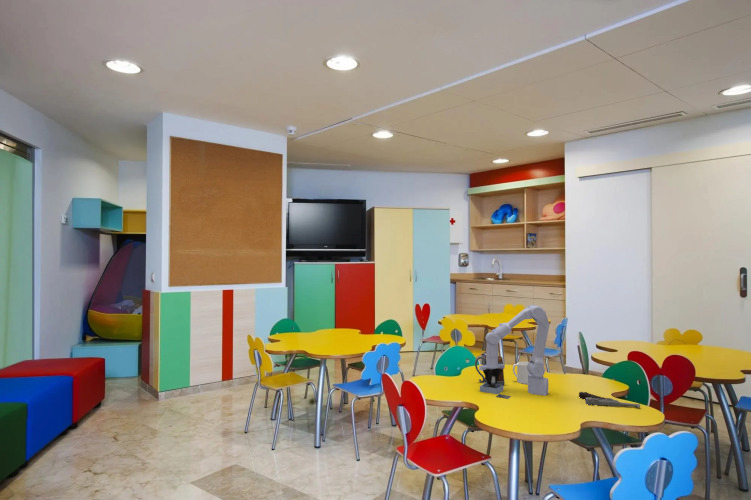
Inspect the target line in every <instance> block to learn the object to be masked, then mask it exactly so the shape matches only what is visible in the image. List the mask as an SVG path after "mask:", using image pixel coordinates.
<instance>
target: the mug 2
mask: <svg viewBox="0 0 751 500" xmlns="http://www.w3.org/2000/svg"><path fill="white" fill-rule="evenodd" d="M529 362H530V361H517V363H514V364H513V365H512V372H513V375H514V376H515V377H516V382H517V383H518V384H521V385H527V386H528V374H529V371H528V369H527V365H528V363H529ZM515 367H516V368H515ZM516 369H517V370H516ZM516 371H517V372H516ZM516 373H517V374H516Z"/></svg>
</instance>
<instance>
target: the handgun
mask: <svg viewBox="0 0 751 500" xmlns="http://www.w3.org/2000/svg"><path fill="white" fill-rule="evenodd" d="M579 397H580V398H579ZM578 398H579V399H581V398H582V400H583V399H585V400H584V401H585V404H586V405H587V404H588V405H587V406H594V405H598V406H606V405H608V406H609V407H616V406H619V407H631V408H641V405H640V404H639V403H628V402H622V401H621V402H620V401H619V400H616V399H613V398H610V397H603V396H599V395H595V394H592V393H589V392H588V391H580V392H579V393H578ZM591 404H592V405H591Z"/></svg>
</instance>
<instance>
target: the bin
mask: <svg viewBox="0 0 751 500" xmlns="http://www.w3.org/2000/svg"><path fill="white" fill-rule="evenodd" d="M488 385H489V384H487V382H486V383H485V382H484V383H481V385H480V386H479V392H480V393H481V392H482V393H487V394H494V395H499V394H501V393H502V392H503V391H504V390H505V389H504V388H505V387H504V386H505V384H504V385H499V384H495V385H496V388H490V387H488Z"/></svg>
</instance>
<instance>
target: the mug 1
mask: <svg viewBox="0 0 751 500" xmlns="http://www.w3.org/2000/svg"><path fill="white" fill-rule="evenodd" d="M480 359H481V360H483V363H482V366H483V365H486V358H485V357H484V356H480V355H479V356H477V357H476V358H475V360H474V366H475V370H476V371H477V373H478V374H479V375H480V376H481V378H482V379H481V378H480V379H478V381H479V382H480V383H481V384H484V383H486V382H487V380H486V377H485V375H484V374H482V372H481V370H479V366H478V362H479V360H480ZM498 364H504V358H503V357H502V356H501V355H498ZM490 370H491V369H490ZM500 370H501V373H500V375H499V377H498V380H497V384H499V385H504V386H505V375H504V373H505V372H504V369H503V368H500Z"/></svg>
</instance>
